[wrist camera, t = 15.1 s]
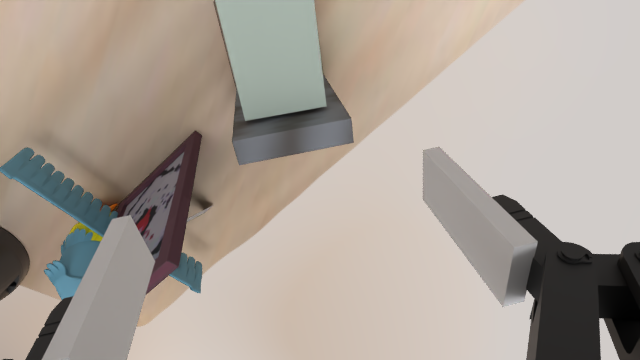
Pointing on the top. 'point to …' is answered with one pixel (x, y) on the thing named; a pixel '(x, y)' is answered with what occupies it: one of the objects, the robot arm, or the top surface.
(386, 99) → the top surface
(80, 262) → the blue toy animal
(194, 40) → the top surface
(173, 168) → the picture frame
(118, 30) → the top surface
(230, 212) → the top surface
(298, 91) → the cabinet box
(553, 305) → the robot arm
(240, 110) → the grey bookend
